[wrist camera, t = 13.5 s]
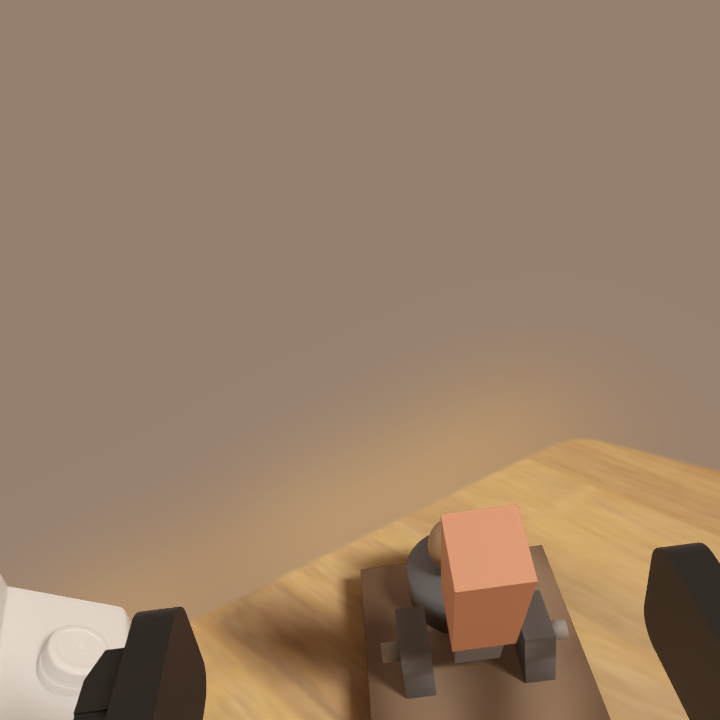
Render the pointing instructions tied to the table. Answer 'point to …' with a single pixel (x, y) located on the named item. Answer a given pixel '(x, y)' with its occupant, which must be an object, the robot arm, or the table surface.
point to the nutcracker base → (476, 678)
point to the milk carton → (51, 650)
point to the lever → (485, 580)
